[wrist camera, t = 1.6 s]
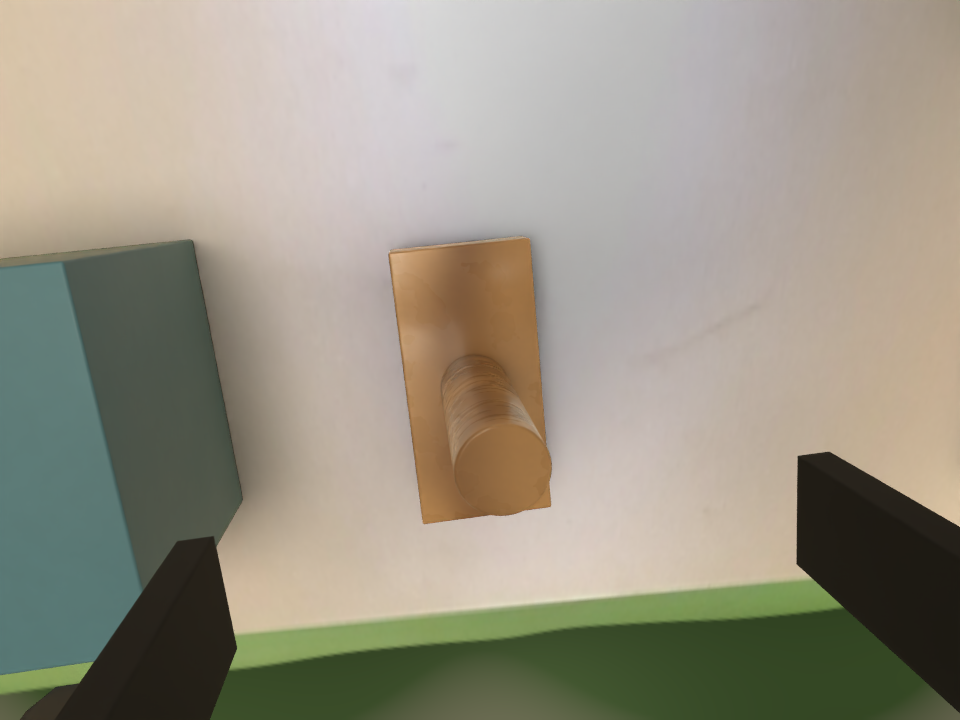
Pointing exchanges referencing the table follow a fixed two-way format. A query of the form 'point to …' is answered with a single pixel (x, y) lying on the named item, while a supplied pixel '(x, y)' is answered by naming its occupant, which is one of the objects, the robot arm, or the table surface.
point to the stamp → (472, 377)
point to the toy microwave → (102, 441)
